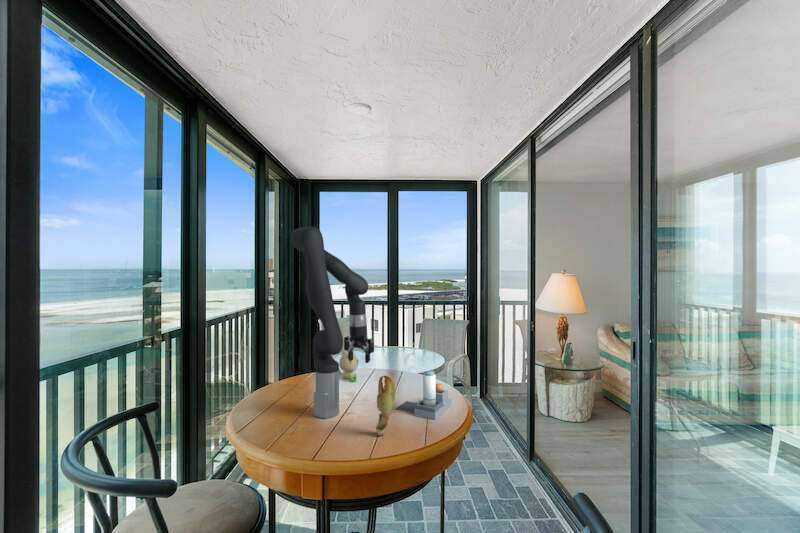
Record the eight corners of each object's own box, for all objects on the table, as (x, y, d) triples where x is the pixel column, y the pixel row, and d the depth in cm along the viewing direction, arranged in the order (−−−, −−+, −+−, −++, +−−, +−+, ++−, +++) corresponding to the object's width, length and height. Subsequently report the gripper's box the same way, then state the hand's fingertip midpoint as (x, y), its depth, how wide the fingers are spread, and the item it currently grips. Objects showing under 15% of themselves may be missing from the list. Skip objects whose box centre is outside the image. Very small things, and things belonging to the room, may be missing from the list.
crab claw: (396, 433, 124) (396, 375, 125) (391, 439, 119) (390, 379, 120) (378, 430, 127) (378, 373, 127) (372, 436, 122) (372, 377, 122)
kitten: (363, 380, 186) (363, 352, 187) (346, 383, 181) (346, 354, 182) (352, 374, 199) (351, 347, 200) (335, 376, 194) (335, 349, 194)
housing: (435, 419, 135) (435, 403, 135) (414, 415, 140) (414, 400, 140) (451, 405, 150) (451, 391, 150) (432, 401, 154) (431, 387, 155)
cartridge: (432, 410, 138) (432, 374, 138) (421, 408, 140) (420, 372, 141) (437, 406, 142) (437, 371, 143) (426, 404, 145) (426, 369, 145)
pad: (416, 413, 141) (416, 413, 141) (395, 409, 146) (395, 408, 146) (427, 405, 150) (427, 405, 150) (406, 401, 155) (406, 401, 155)
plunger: (440, 392, 148) (440, 386, 148) (433, 391, 149) (433, 385, 149) (443, 390, 150) (443, 384, 150) (436, 389, 152) (436, 383, 152)
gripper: (339, 324, 154) (340, 362, 154) (366, 327, 147) (368, 365, 147) (349, 321, 160) (351, 357, 160) (376, 323, 153) (377, 360, 154)
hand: (359, 361), depth 154 cm, fingers open, 8 cm apart
